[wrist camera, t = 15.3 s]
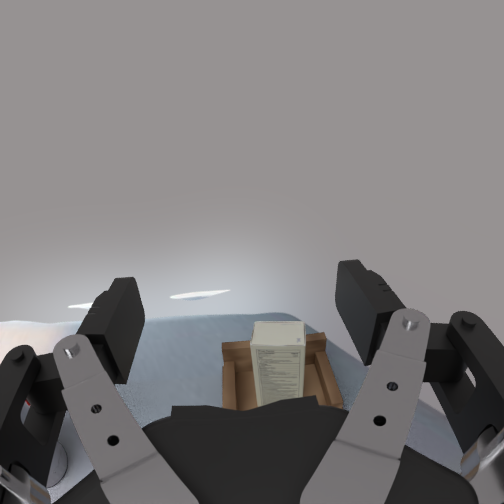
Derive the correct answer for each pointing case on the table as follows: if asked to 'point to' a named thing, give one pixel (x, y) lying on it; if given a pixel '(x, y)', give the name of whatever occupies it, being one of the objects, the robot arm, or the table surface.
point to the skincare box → (278, 360)
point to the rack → (243, 385)
